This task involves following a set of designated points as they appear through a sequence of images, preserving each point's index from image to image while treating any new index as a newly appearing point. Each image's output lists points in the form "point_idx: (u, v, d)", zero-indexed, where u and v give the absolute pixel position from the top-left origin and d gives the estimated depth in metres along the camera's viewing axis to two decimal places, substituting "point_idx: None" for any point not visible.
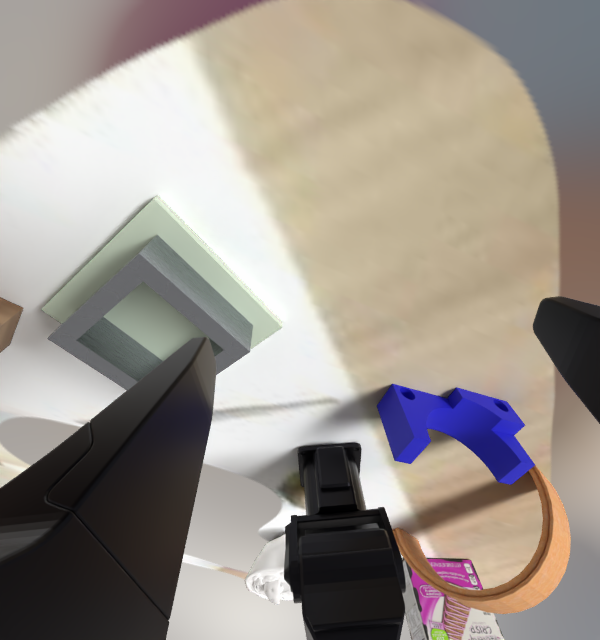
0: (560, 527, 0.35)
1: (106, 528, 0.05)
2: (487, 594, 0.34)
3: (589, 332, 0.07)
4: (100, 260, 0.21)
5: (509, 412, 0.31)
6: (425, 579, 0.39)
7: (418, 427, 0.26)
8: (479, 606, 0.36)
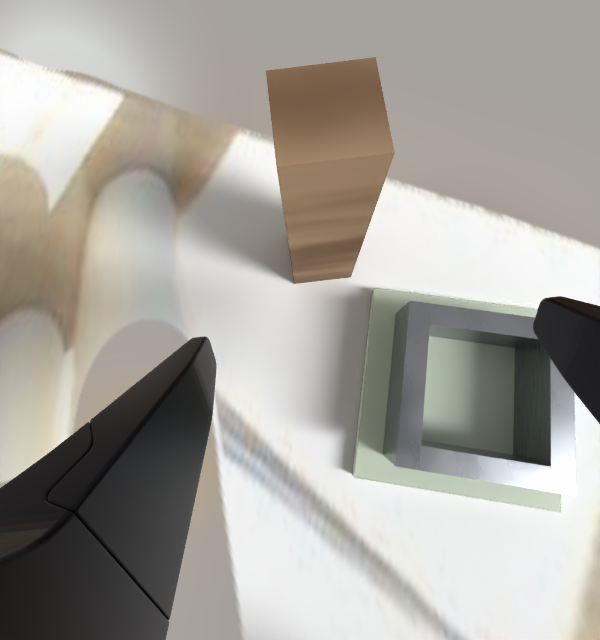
0: None
1: (106, 528, 0.05)
2: None
3: (589, 332, 0.07)
4: (469, 306, 0.22)
5: None
6: None
7: None
8: None
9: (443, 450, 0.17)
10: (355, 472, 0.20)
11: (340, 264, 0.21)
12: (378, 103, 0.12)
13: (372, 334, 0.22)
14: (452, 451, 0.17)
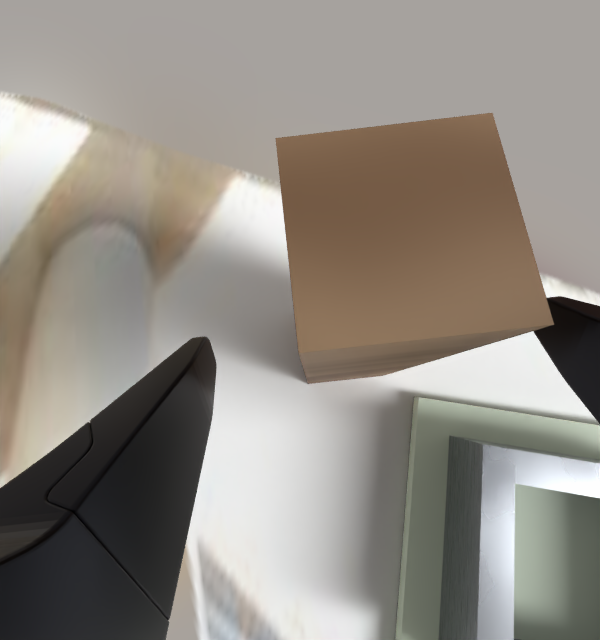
0: None
1: (106, 528, 0.05)
2: None
3: (589, 332, 0.07)
4: (552, 426, 0.16)
5: None
6: None
7: None
8: None
9: None
10: None
11: (375, 373, 0.15)
12: (507, 210, 0.06)
13: (417, 466, 0.16)
14: None
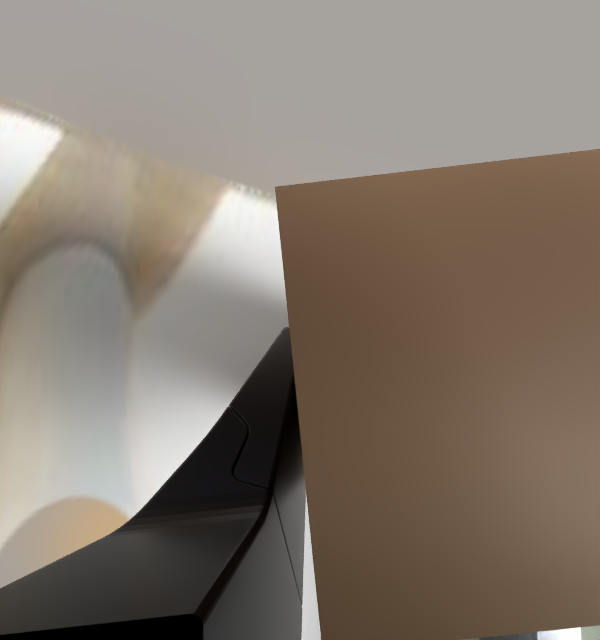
0: None
1: (282, 509, 0.04)
2: None
3: None
4: None
5: None
6: None
7: None
8: None
9: None
10: None
11: None
12: None
13: None
14: None
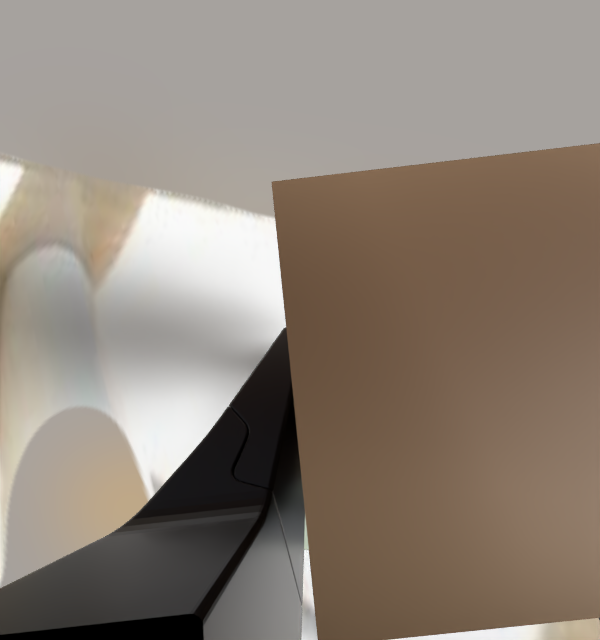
0: None
1: (282, 510, 0.04)
2: None
3: None
4: None
5: None
6: None
7: None
8: None
9: None
10: None
11: None
12: None
13: None
14: None
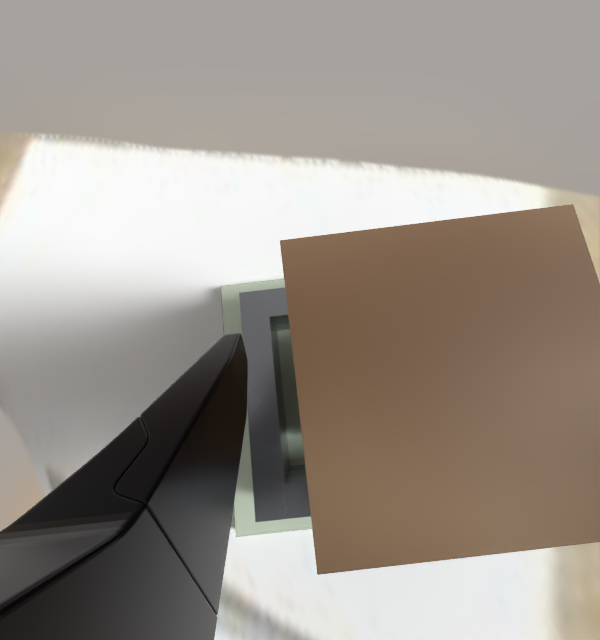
0: None
1: (169, 522, 0.05)
2: None
3: None
4: None
5: None
6: None
7: None
8: None
9: None
10: (236, 529, 0.15)
11: None
12: None
13: None
14: None
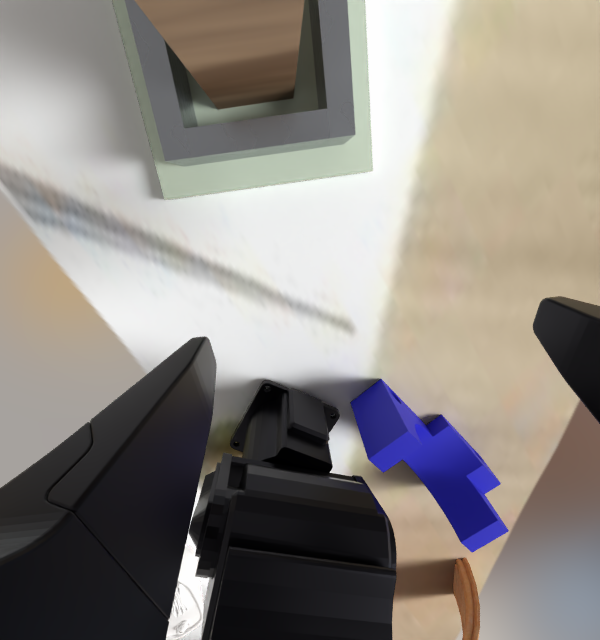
0: None
1: (107, 528, 0.05)
2: None
3: (589, 332, 0.07)
4: None
5: (485, 465, 0.26)
6: None
7: (409, 426, 0.21)
8: None
9: (209, 126, 0.15)
10: (164, 194, 0.19)
11: (274, 84, 0.15)
12: None
13: (117, 3, 0.16)
14: (220, 124, 0.15)
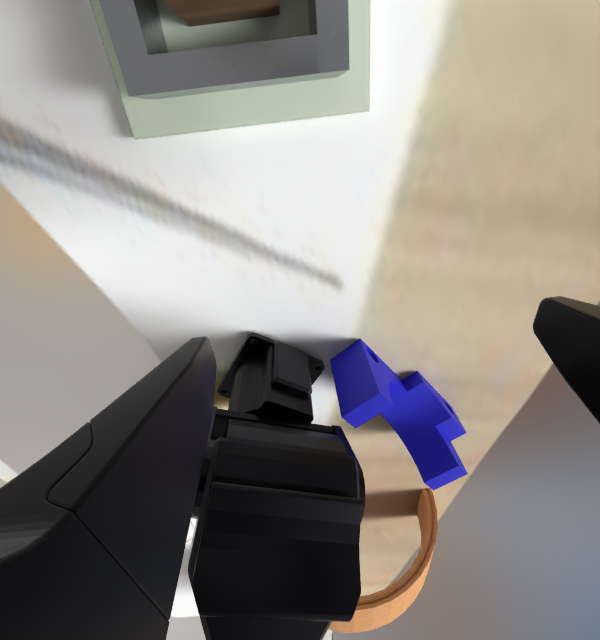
0: None
1: (106, 528, 0.05)
2: None
3: (589, 332, 0.07)
4: None
5: (454, 415, 0.28)
6: None
7: (382, 387, 0.22)
8: None
9: (178, 52, 0.13)
10: (133, 132, 0.17)
11: None
12: None
13: None
14: (191, 51, 0.13)
